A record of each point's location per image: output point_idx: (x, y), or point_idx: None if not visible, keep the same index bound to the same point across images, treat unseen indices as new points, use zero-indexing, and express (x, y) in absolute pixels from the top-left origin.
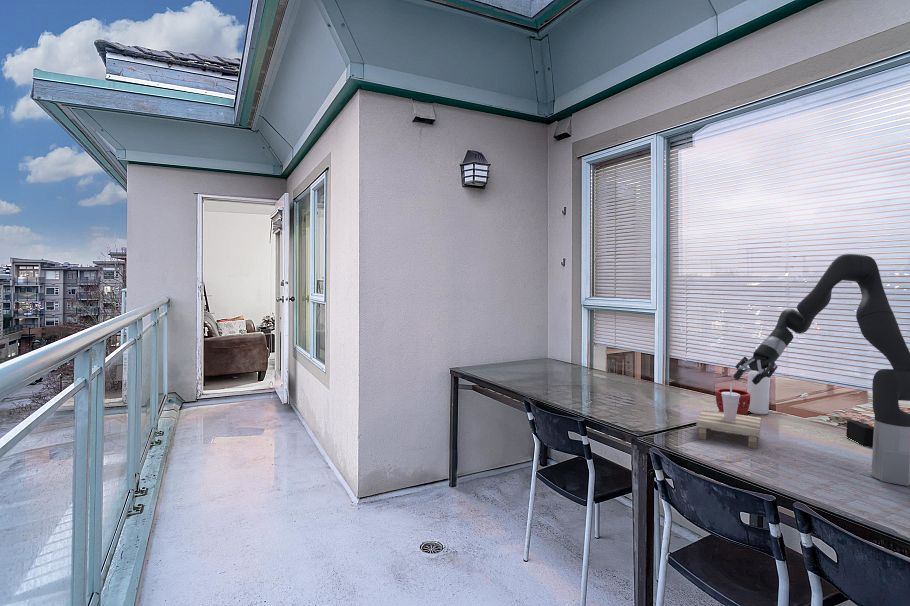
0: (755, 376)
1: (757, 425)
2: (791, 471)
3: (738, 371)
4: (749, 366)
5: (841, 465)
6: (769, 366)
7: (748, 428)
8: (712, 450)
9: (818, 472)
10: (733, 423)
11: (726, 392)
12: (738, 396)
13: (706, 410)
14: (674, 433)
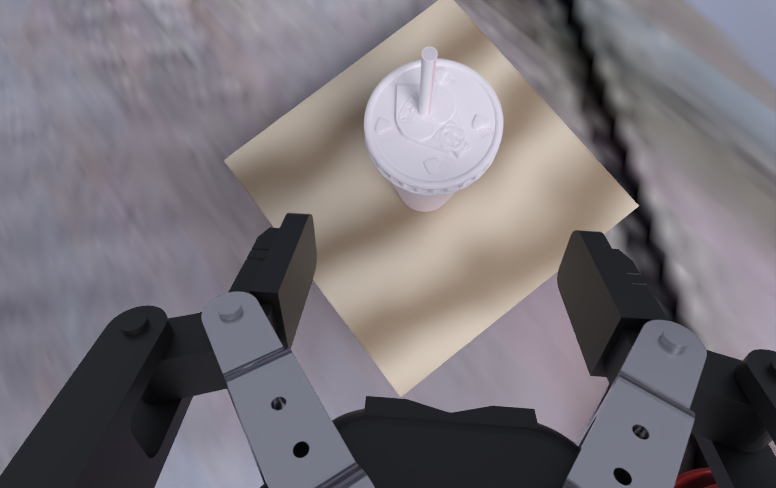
0: (286, 252)
1: None
2: (63, 94)
3: (614, 289)
4: (544, 426)
5: (31, 338)
6: (53, 466)
7: (263, 131)
8: (305, 3)
9: (23, 176)
10: (348, 128)
11: (475, 118)
12: (367, 134)
13: (612, 205)
14: (521, 16)
